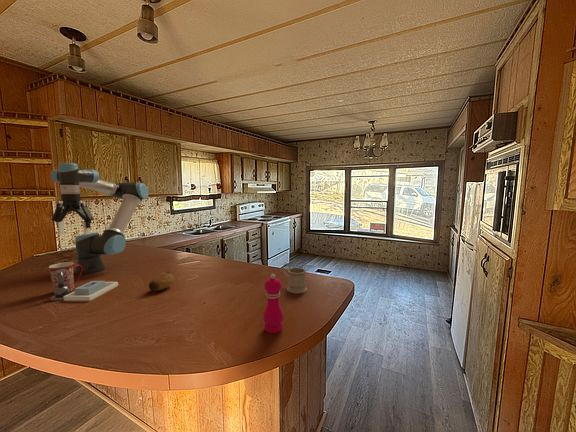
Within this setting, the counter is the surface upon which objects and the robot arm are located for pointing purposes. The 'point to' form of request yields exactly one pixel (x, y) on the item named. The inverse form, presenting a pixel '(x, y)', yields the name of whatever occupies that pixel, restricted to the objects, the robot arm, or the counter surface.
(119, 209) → the robot arm
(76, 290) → the windowed blue block
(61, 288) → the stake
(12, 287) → the counter surface
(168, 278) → the potato
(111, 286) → the tray
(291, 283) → the mug
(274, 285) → the pepper mill
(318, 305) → the counter surface
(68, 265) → the mug
